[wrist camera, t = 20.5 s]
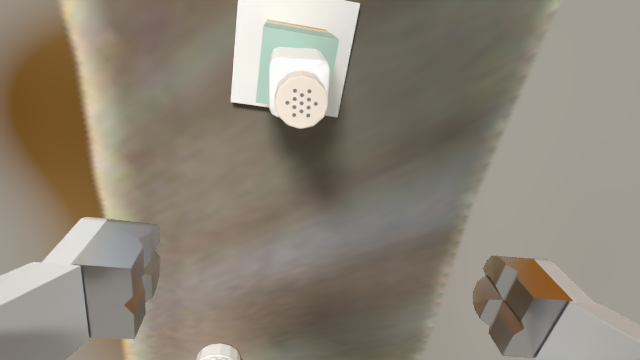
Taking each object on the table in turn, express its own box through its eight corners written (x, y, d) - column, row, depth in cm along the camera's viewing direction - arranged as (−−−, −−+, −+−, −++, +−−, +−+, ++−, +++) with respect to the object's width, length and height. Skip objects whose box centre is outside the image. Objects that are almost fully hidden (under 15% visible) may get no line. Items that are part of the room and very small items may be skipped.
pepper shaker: (271, 96, 31) (267, 134, 23) (271, 45, 30) (267, 67, 21) (318, 97, 32) (332, 136, 23) (322, 48, 30) (337, 70, 22)
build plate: (240, -20, 37) (239, -21, 36) (358, 3, 39) (360, 3, 38) (231, 99, 42) (230, 101, 41) (336, 114, 44) (337, 117, 43)
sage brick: (265, 21, 33) (263, 26, 29) (331, 33, 34) (339, 39, 30) (258, 88, 36) (255, 102, 31) (320, 98, 37) (325, 112, 32)
